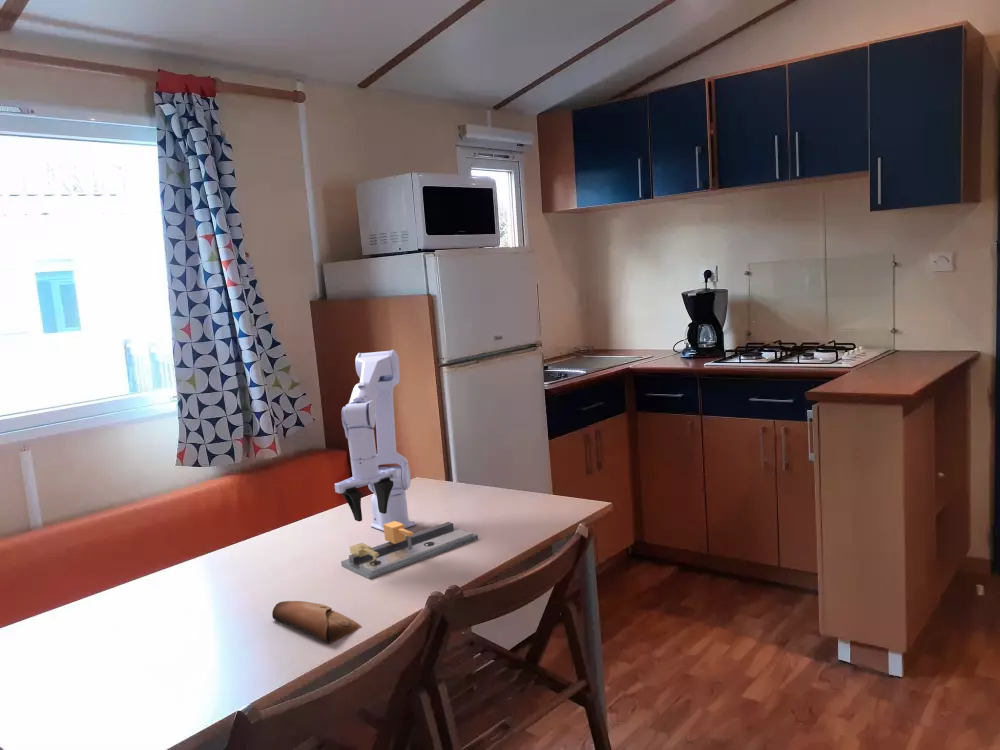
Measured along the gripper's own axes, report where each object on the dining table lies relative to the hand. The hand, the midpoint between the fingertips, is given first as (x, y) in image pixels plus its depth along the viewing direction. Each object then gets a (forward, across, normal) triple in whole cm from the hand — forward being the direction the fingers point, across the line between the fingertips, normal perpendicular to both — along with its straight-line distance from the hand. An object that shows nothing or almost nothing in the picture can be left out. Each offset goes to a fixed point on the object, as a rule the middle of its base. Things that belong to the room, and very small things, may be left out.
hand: (370, 516), depth 176 cm
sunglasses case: (+11, -24, -20) cm, 33 cm away
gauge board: (+10, +8, -3) cm, 13 cm away
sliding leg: (+8, +5, -3) cm, 10 cm away
